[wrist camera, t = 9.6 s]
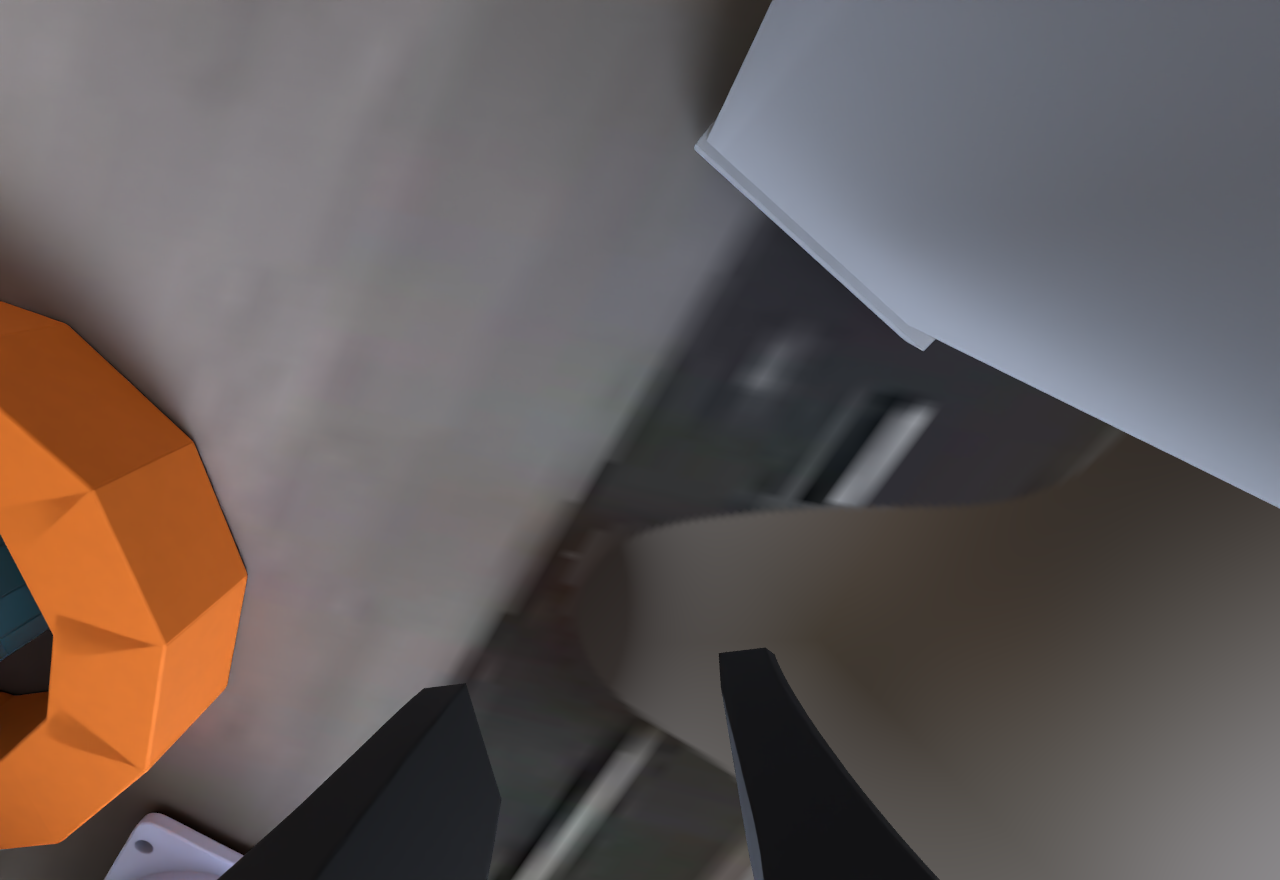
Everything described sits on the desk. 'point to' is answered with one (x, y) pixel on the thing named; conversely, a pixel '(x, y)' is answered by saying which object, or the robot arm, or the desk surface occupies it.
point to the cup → (16, 607)
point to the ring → (103, 579)
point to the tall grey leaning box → (1042, 195)
